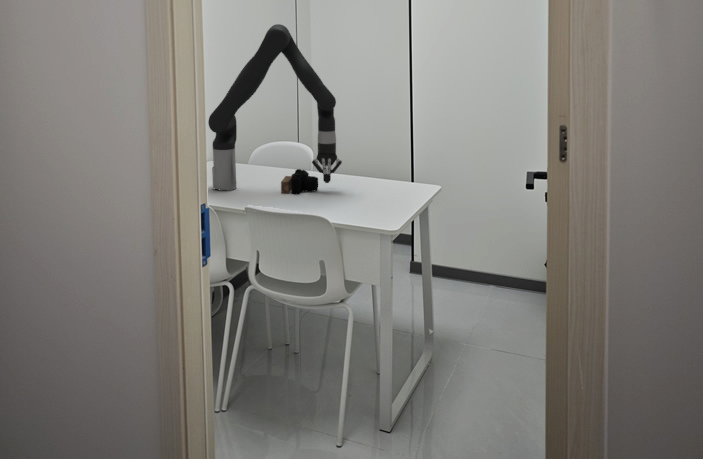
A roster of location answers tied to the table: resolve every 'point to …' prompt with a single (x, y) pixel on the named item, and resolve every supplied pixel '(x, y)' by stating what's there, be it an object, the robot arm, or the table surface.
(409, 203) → the table surface
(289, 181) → the bar
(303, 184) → the film camera
